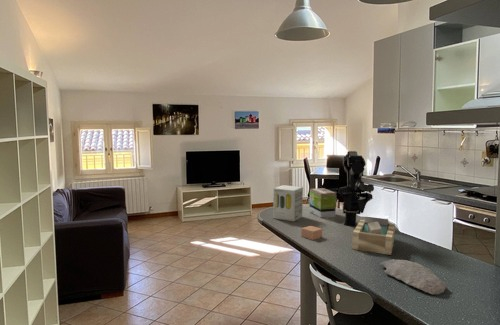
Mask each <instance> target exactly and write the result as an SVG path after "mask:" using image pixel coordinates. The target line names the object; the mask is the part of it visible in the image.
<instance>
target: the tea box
mask: <svg viewBox="0 0 500 325" xmlns="http://www.w3.org/2000/svg"><path fill="white" fill-rule="evenodd" d="M336 204H337V192H335V191H332V190H330V189H326V188H324V187H321V188H309V206H308V208H309V209H308V212H309V213H311V214H314V215H315V216H317V217H319V218H320V219H325V218H335V217H336V208H337V207H336Z"/></svg>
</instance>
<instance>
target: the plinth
mask: <svg viewBox="0 0 500 325" xmlns="http://www.w3.org/2000/svg"><path fill="white" fill-rule="evenodd" d="M300 229H301V230H300V232H301V233H300V234H301V235H300V236H301V237H302V238H305V239H308V240H312V241H314V240H318V239H321V238H322V237H323V228H321V227H317V226H313V225H309V226H304V227H301V228H300ZM320 237H321V238H320ZM317 238H318V239H317Z"/></svg>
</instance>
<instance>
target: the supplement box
mask: <svg viewBox="0 0 500 325" xmlns="http://www.w3.org/2000/svg"><path fill="white" fill-rule="evenodd" d="M303 193H304V186H294V185H287V184H283V185H280V186H279V185H278V186H276V187H273V201H272V202H273V205H272V207H273V208H272V209H273V210H272V211H273V214H272V218H273V219H277V220H282V221H283V220H284V221H290V222H295V221H297V220H299V219H300V218H302V217H303V200H304V199H303V196H304V194H303Z"/></svg>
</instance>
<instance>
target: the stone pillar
mask: <svg viewBox="0 0 500 325" xmlns="http://www.w3.org/2000/svg"><path fill="white" fill-rule="evenodd" d="M381 232H382V228H381V226H380V225H379V223H378V222H372V223H368V233H373V234H380V235H381Z"/></svg>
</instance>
